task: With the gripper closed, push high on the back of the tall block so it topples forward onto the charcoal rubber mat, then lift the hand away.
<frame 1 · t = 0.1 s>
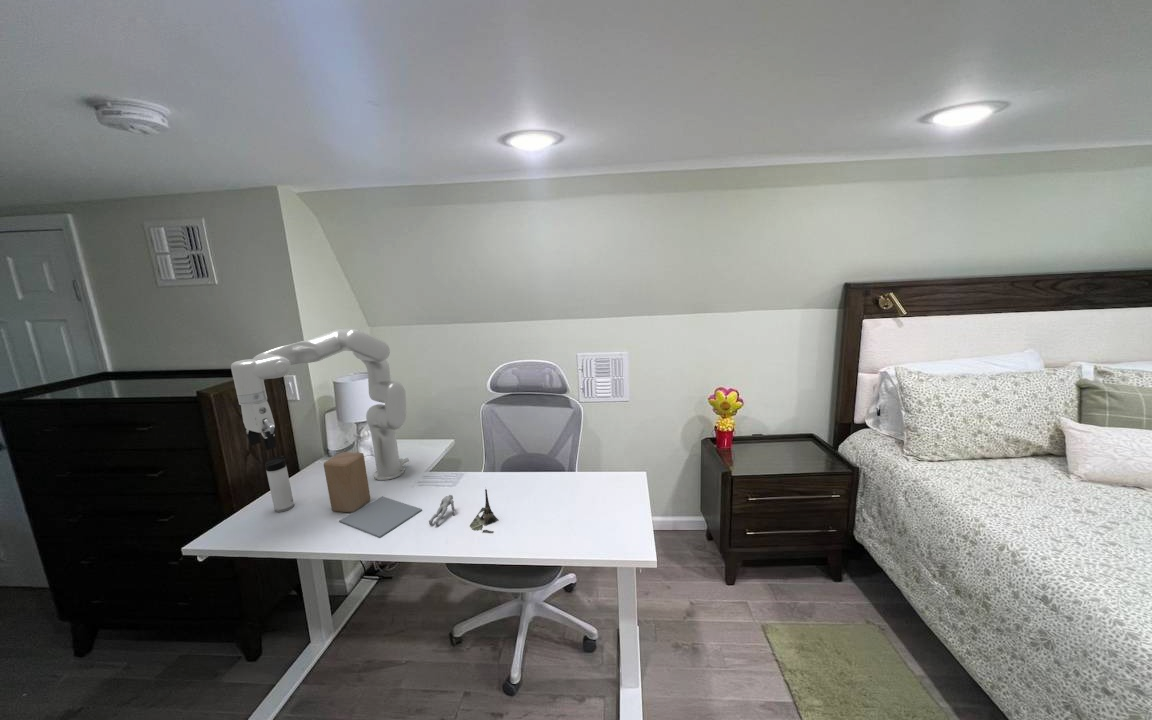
hand: (262, 446, 143), 31 cm above the table, tool pointing down, fingers open, 9 cm apart
block: (351, 506, 163), on the table
travel mug: (285, 508, 163), on the table
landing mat: (381, 516, 155), on the table
soldier figurine: (443, 518, 152), on the table
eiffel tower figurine: (487, 521, 150), on the table
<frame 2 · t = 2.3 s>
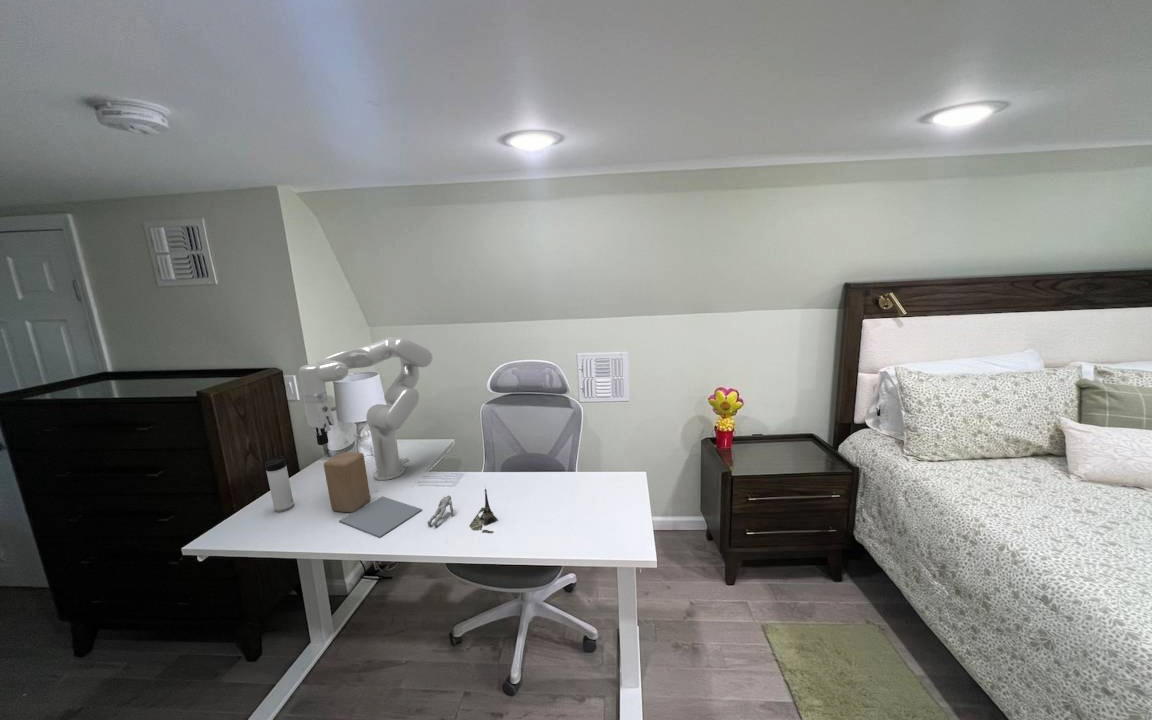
hand: (323, 443, 163), 24 cm above the table, tool pointing down, fingers closed
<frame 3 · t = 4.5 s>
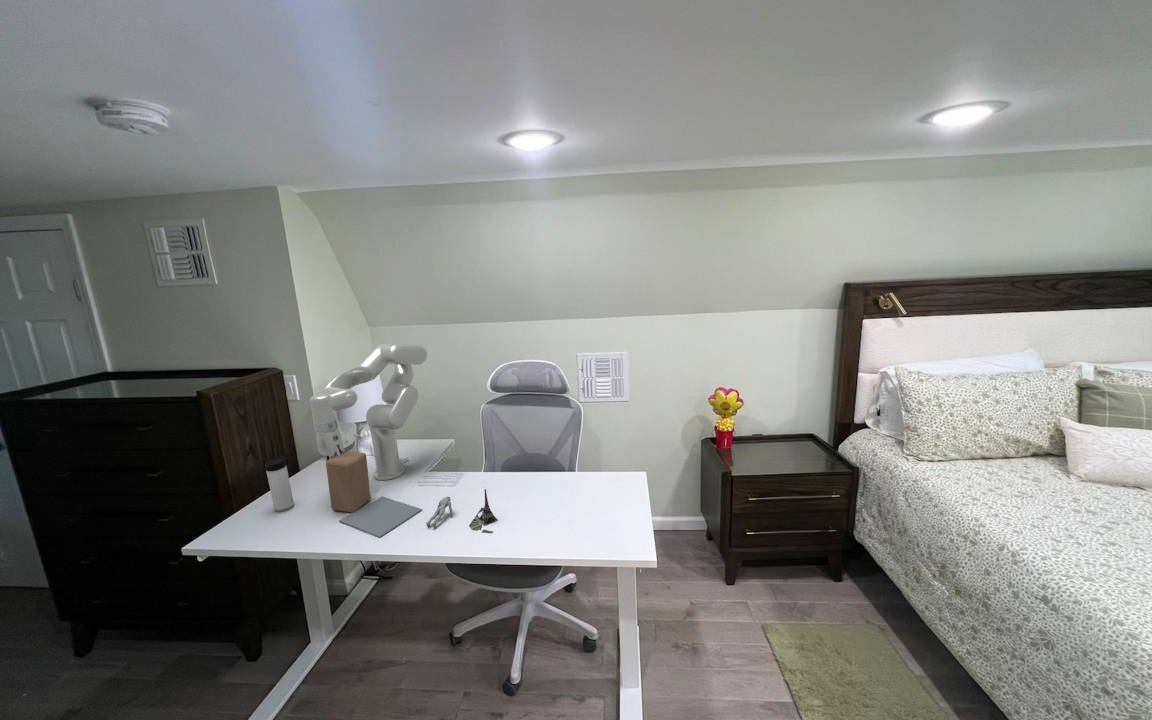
hand: (334, 471, 164), 13 cm above the table, tool pointing down, fingers closed
block: (351, 505, 163), on the table, touching gripper
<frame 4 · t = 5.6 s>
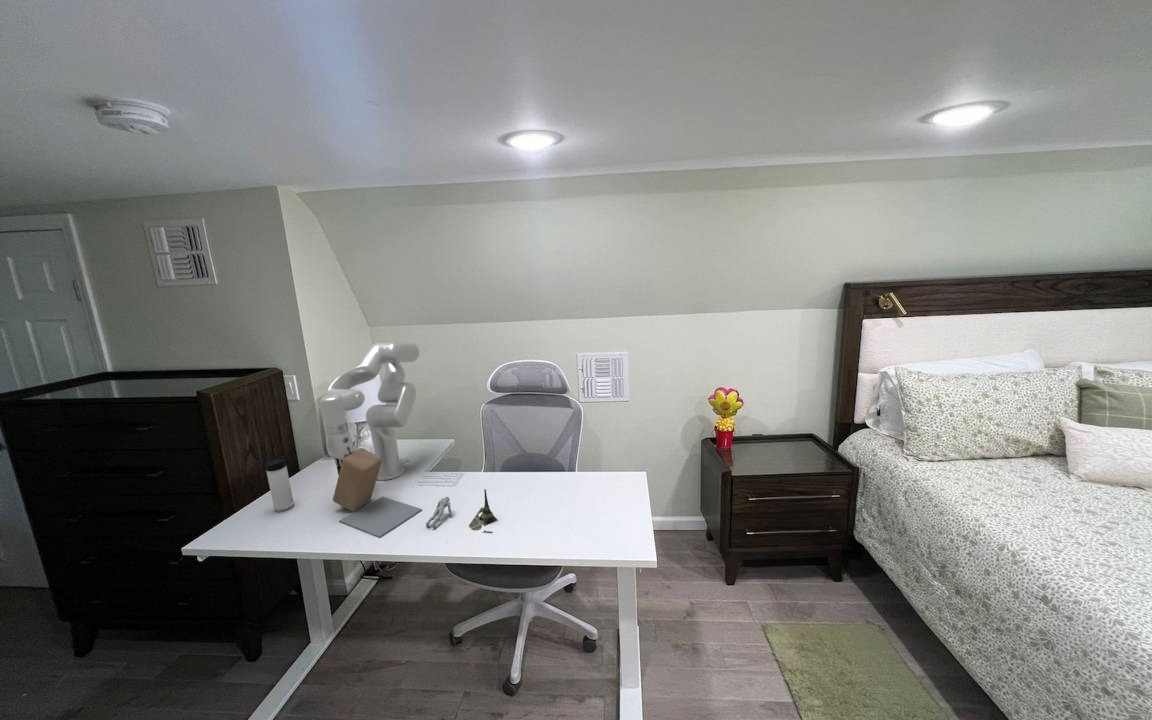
hand: (343, 474, 160), 13 cm above the table, tool pointing down, fingers closed
block: (352, 500, 162), point 2 cm above the table, touching gripper, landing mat
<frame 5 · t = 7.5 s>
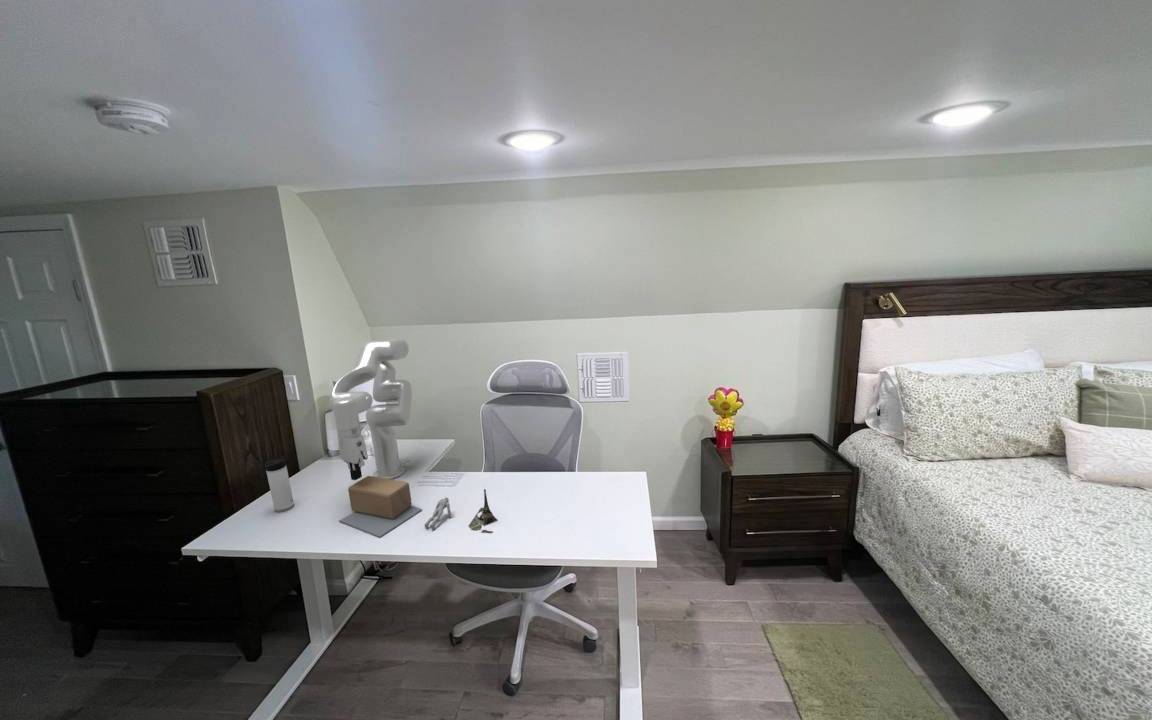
hand: (356, 478, 157), 13 cm above the table, tool pointing down, fingers closed
block: (359, 492, 161), point 6 cm above the table, touching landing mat
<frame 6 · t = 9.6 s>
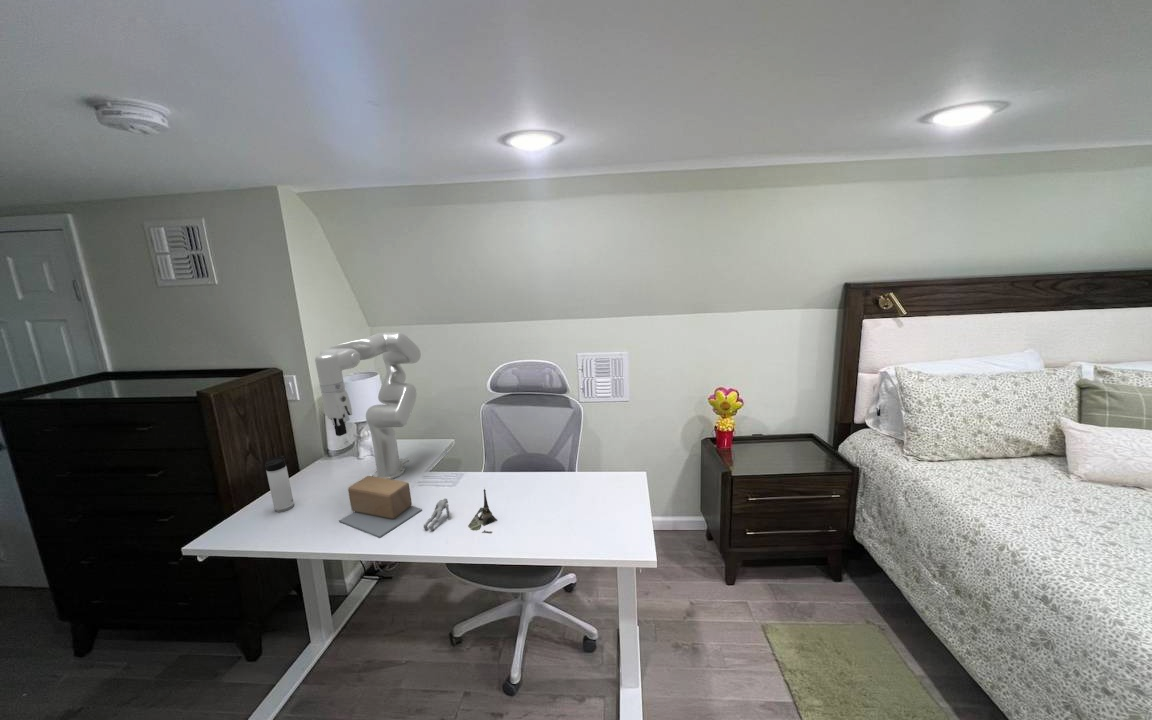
hand: (341, 434, 158), 28 cm above the table, tool pointing down, fingers closed
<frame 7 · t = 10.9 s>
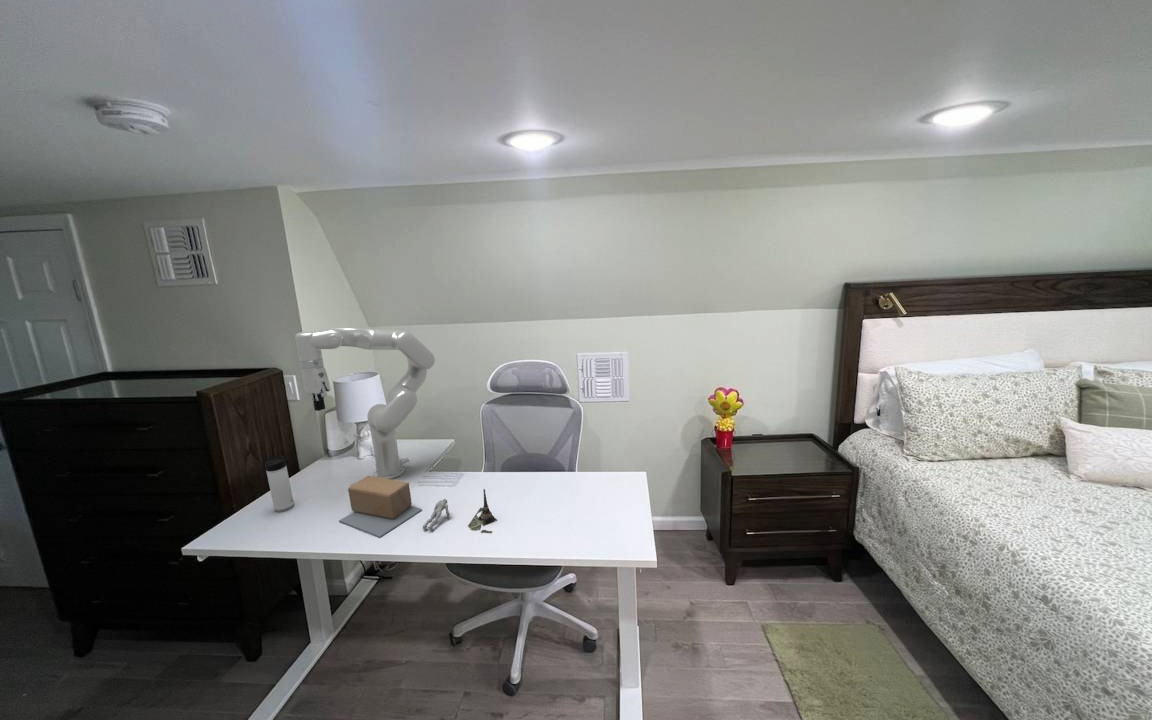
hand: (320, 409, 167), 35 cm above the table, tool pointing down, fingers closed
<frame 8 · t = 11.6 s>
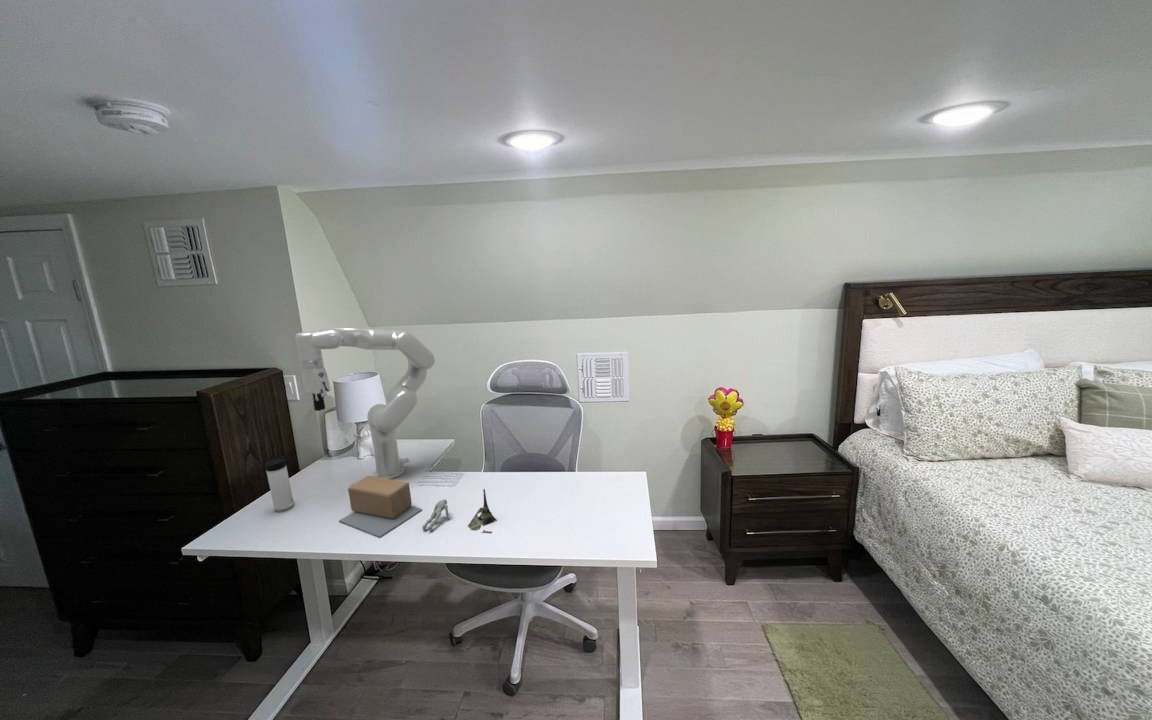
hand: (320, 409, 167), 35 cm above the table, tool pointing down, fingers closed
at the end: block tilted 90°; block touching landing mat; the gripper is holding nothing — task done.
